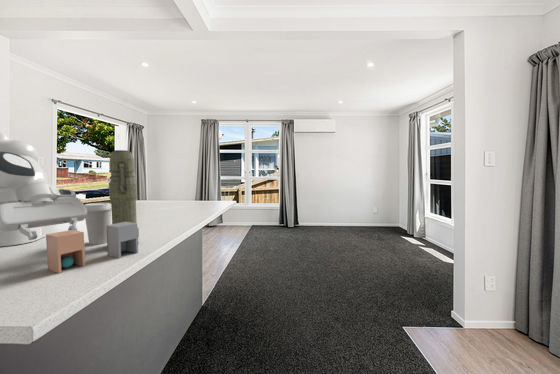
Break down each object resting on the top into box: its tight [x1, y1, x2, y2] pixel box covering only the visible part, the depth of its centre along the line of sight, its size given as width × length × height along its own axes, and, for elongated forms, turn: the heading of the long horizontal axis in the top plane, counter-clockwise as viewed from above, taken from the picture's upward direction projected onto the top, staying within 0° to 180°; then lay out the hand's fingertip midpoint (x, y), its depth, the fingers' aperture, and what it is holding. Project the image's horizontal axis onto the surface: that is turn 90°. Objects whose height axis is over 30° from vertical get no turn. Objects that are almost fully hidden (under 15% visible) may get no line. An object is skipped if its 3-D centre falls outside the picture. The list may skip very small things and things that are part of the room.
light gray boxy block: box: [106, 222, 139, 259], centre depth 87 cm, size 6×6×10 cm
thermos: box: [108, 149, 140, 244], centre depth 97 cm, size 9×12×35 cm
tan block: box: [45, 229, 86, 274], centre depth 75 cm, size 6×6×10 cm
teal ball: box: [61, 256, 74, 269], centre depth 75 cm, size 3×3×3 cm
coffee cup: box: [84, 202, 112, 246], centre depth 101 cm, size 10×10×15 cm
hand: (54, 234), depth 76 cm, fingers open, 8 cm apart
